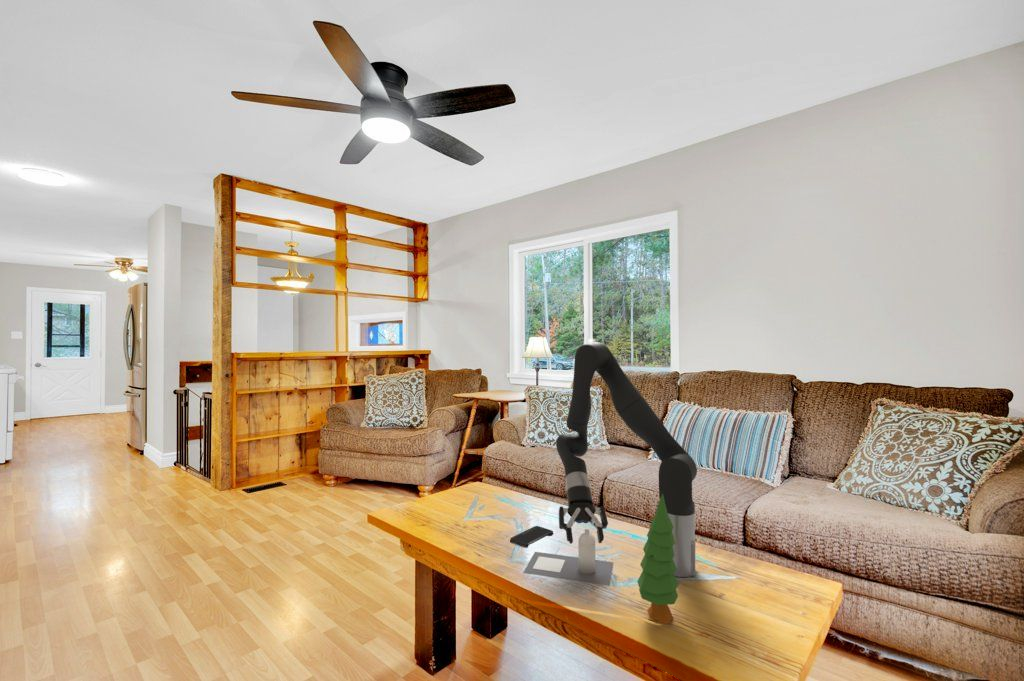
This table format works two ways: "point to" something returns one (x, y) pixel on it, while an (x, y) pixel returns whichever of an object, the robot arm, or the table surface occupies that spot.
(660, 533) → the decorative tree
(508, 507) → the table surface
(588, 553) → the white rounded cylinder
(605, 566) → the mat
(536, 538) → the phone
